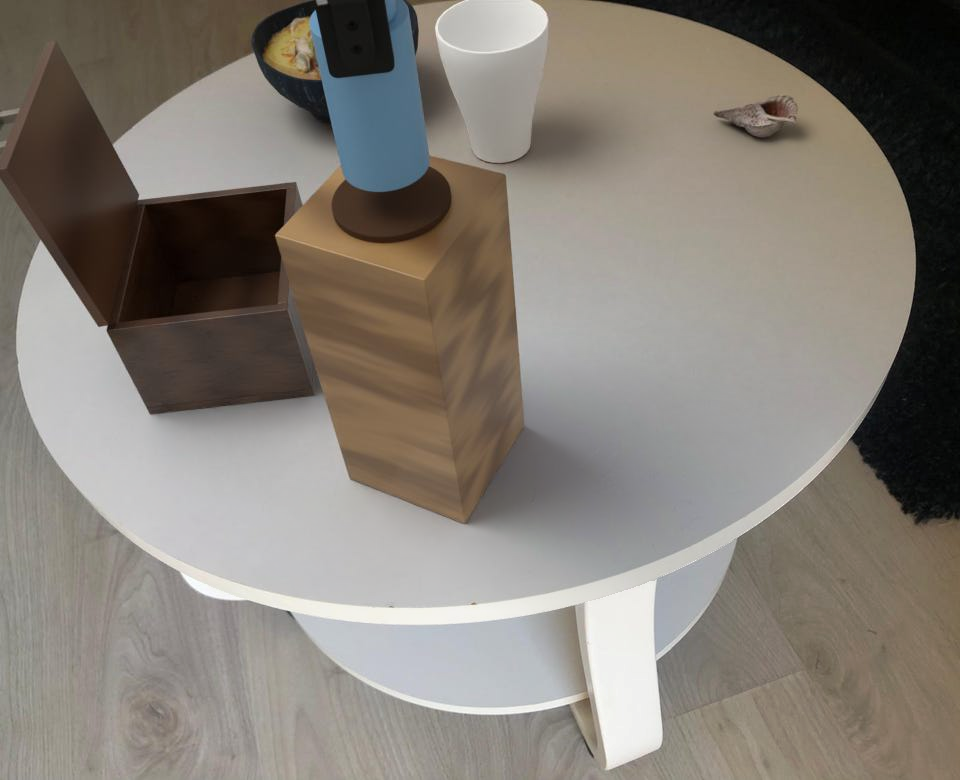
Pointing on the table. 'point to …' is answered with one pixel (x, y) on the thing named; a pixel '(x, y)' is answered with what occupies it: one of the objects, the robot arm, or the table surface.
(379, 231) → the coaster
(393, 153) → the bottle
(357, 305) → the stand
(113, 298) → the wooden box lid
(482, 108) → the cup
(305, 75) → the bowl
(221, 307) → the brown wooden box
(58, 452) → the table surface
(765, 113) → the seashell
